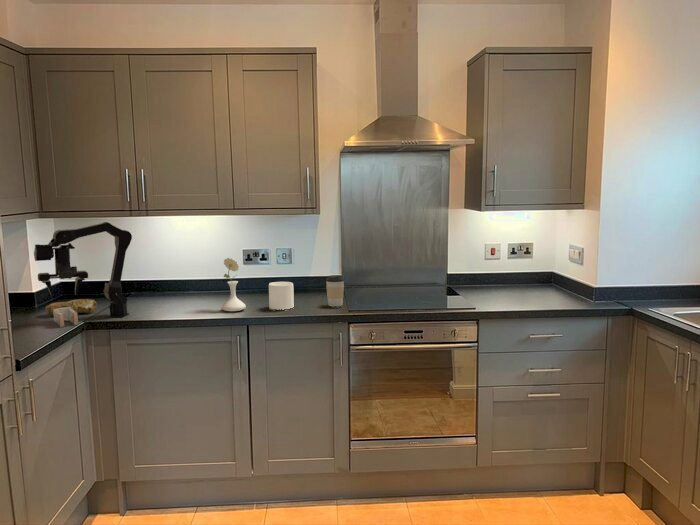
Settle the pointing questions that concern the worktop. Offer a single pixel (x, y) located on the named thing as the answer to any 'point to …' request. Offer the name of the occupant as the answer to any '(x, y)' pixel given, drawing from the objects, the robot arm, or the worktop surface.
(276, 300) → the cup
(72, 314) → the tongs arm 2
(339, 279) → the coffee cup
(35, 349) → the worktop surface
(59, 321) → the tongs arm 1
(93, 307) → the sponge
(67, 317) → the tongs pivot
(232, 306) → the flower in vase
